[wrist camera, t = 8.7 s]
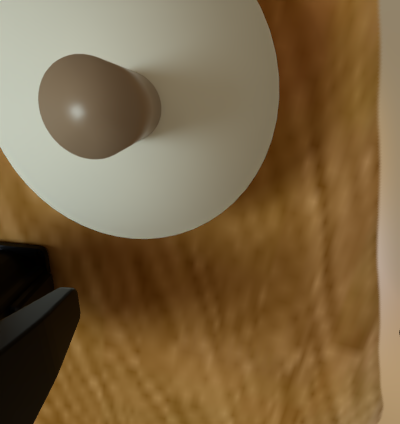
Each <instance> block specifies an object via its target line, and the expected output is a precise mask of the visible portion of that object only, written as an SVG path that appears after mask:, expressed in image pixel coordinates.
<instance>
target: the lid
mask: <svg viewBox="0 0 400 424" xmlns="http://www.w3.org/2000/svg"><path fill="white" fill-rule="evenodd" d="M278 105H279V73H278V65H277V57H276V52H275V48H274V44H273V40H272V36H271V32H270V29H269V27H268V24H267V22H266V19H265V17H264V14H263V12H262V9H261V7H260V5H259V3H258V2H257V0H0V147H1V149H2V151H3V153H4V154H5V156H6V157H7V159H8V160H9V162H10V163H11V165H12V166H13V168H14V169H15V171H16V172H17V173H18V174H19V176H20V177H21V178H22V179H23V180H24V182H25V183H26V184H27V185H28V186H29V187H30V188H31V189H32V190H33V191H34V192H35V193H36V194H37V195H38V196H39V197H40V198H41V199H42V200H44V201H45V202H46V203H47V204H49V205H50V206H51V207H52V208H54V209H55V210H57V211H58V212H60V213H61V214H63V215H64V216H66V217H67V218H69V219H71V220H73V221H75V222H77V223H79V224H81V225H83V226H85V227H88V228H90V229H93V230H95V231H98V232H101V233H105V234H109V235H113V236H117V237H124V238H131V239H152V238H163V237H168V236H173V235H177V234H181V233H184V232H187V231H189V230H192V229H195V228H197V227H199V226H201V225H203V224H205V223H207V222H209V221H210V220H212V219H213V218H215V217H216V216H218V215H219V214H221V213H222V212H223V211H225V210H226V209H227V208H228V207H229V206H230V205H232V204H233V203H234V202H235V201H236V200H237V199H238V198H239V196H240V195H241V194H242V193H243V192H244V191H245V190H246V189H247V187H248V186H249V184H250V183H251V181H252V180H253V179H254V177H255V176H256V174H257V172H258V170H259V169H260V167H261V165H262V163H263V161H264V159H265V157H266V154H267V152H268V149H269V146H270V144H271V141H272V138H273V133H274V129H275V125H276V121H277V113H278Z"/></svg>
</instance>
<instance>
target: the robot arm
mask: <svg viewBox="0 0 400 424" xmlns="http://www.w3.org/2000/svg"><path fill="white" fill-rule="evenodd" d="M38 252H40V253H41V254H39V253H38ZM79 319H80V306H79V300H78V294H77V291H76V289H74V288H67V287H60V288H58V289H56V290H54V286H53V279H52V274H51V272H50V266H49V259H48V252H47V250H46V249H45V248H44V247H42V246H35V245H24V244H14V243H3V242H0V424H33V423H34V421H35V419H36V417H37V415H38V413H39V411H40V409H41V407H42V405H43V403H44V401H45V400H46V398H47V396H48V394H49V392H50V390H51V388H52V386H53V384H54V381H55V379H56V377H57V375H58V373H59V370H60V368H61V365H62V363H63V360H64V358H65V355H66V353H67V350H68V348H69V345H70V342H71V340H72V337H73V335H74V332H75V330H76V327H77V324H78V322H79ZM399 333H400V332H399Z"/></svg>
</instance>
